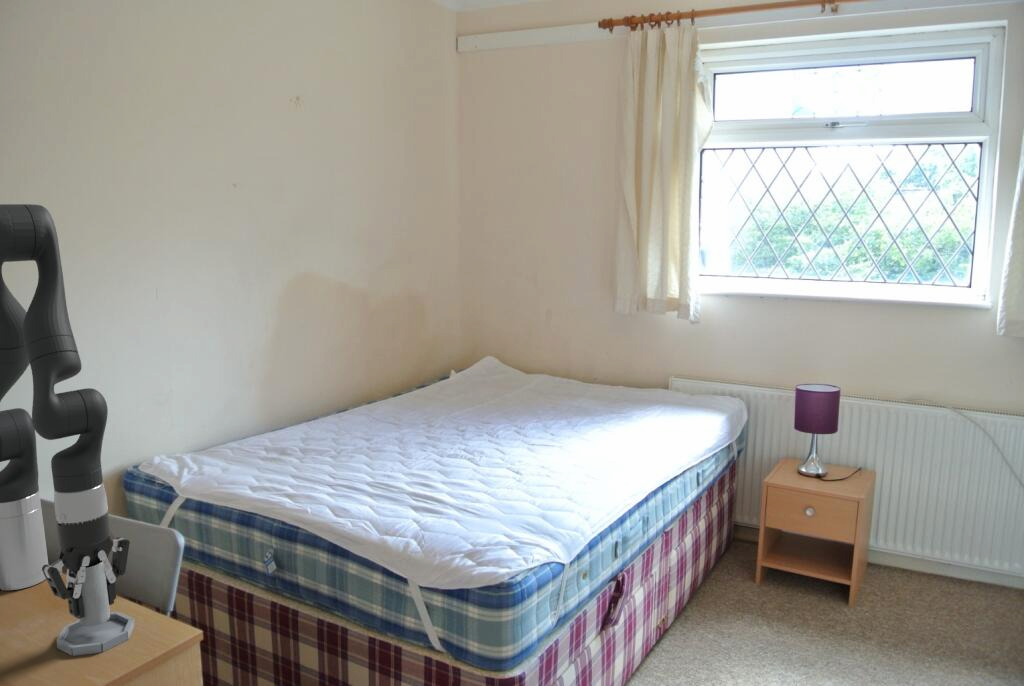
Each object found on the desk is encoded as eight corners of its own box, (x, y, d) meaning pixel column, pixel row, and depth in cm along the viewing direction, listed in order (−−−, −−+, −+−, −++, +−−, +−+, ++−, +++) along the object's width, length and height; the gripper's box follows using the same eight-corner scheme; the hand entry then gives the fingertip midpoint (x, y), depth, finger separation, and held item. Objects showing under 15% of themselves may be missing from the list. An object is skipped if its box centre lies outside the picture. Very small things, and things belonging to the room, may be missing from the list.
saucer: (46, 642, 136) (45, 634, 136) (108, 614, 145) (107, 607, 145) (83, 661, 131) (82, 653, 130) (145, 631, 140) (144, 623, 139)
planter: (115, 613, 139) (109, 556, 138) (100, 627, 135) (93, 568, 133) (90, 612, 140) (83, 555, 138) (73, 626, 135) (66, 567, 134)
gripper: (110, 494, 142) (120, 587, 145) (24, 522, 130) (37, 623, 133) (136, 502, 138) (146, 597, 141) (50, 532, 126) (63, 635, 129)
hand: (93, 609), depth 137 cm, fingers closed on planter, 4 cm apart
